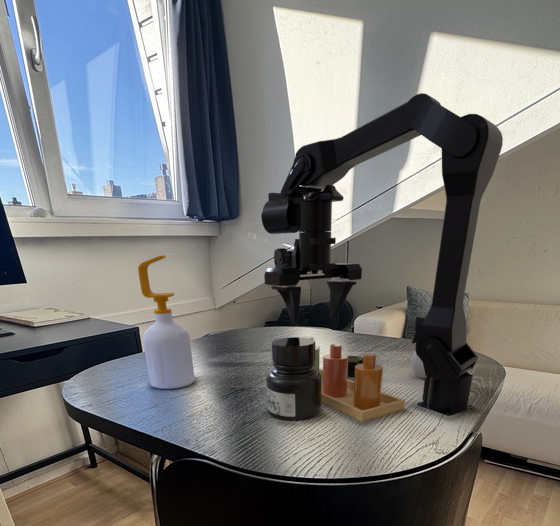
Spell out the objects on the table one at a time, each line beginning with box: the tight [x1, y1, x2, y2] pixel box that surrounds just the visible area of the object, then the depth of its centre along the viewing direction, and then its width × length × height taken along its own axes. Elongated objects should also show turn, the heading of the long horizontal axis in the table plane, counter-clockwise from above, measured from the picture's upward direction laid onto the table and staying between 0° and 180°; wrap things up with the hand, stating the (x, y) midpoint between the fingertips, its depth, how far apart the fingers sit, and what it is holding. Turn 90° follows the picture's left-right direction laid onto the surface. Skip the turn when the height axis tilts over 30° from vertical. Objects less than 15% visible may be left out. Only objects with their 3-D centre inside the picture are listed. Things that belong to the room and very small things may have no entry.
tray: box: [319, 368, 406, 423], centre depth 75 cm, size 25×9×2 cm, turn 32°
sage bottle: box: [303, 335, 321, 372], centre depth 80 cm, size 4×4×9 cm
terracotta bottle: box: [322, 343, 349, 398], centre depth 73 cm, size 4×4×9 cm
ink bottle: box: [266, 336, 322, 422], centre depth 66 cm, size 10×9×12 cm
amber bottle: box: [353, 352, 384, 411], centre depth 67 cm, size 4×4×9 cm
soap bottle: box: [137, 254, 195, 390], centre depth 81 cm, size 9×9×25 cm
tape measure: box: [347, 355, 363, 377], centre depth 87 cm, size 7×7×4 cm
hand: (314, 321), depth 79 cm, fingers open, 9 cm apart
